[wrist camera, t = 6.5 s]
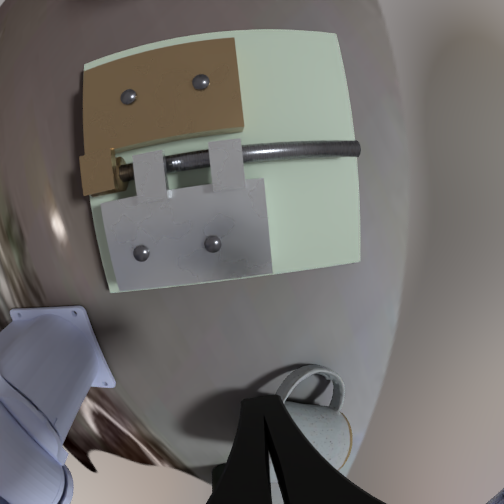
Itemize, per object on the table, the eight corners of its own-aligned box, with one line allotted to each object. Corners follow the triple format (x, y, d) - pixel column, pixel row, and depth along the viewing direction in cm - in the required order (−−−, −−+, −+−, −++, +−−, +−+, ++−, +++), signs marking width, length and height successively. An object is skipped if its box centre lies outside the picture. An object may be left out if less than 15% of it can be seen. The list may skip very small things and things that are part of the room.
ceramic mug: (307, 437, 24) (325, 492, 16) (233, 431, 22) (238, 495, 15) (357, 364, 21) (397, 423, 14) (273, 351, 20) (295, 425, 13)
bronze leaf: (96, 197, 15) (77, 201, 12) (89, 81, 13) (71, 70, 10) (350, 165, 16) (369, 164, 13) (333, 51, 13) (348, 36, 11)
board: (114, 288, 17) (110, 293, 17) (89, 68, 13) (84, 64, 12) (355, 258, 18) (360, 261, 18) (332, 38, 14) (336, 33, 13)
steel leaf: (127, 281, 16) (115, 295, 14) (107, 166, 14) (90, 166, 12) (268, 264, 17) (274, 277, 15) (256, 141, 15) (261, 136, 12)
